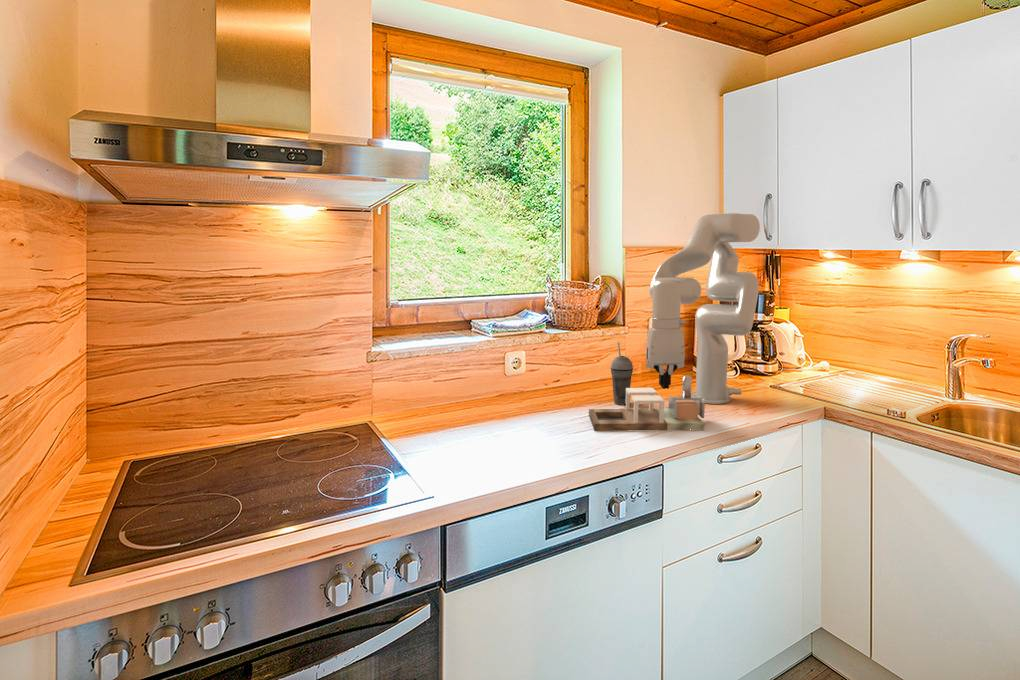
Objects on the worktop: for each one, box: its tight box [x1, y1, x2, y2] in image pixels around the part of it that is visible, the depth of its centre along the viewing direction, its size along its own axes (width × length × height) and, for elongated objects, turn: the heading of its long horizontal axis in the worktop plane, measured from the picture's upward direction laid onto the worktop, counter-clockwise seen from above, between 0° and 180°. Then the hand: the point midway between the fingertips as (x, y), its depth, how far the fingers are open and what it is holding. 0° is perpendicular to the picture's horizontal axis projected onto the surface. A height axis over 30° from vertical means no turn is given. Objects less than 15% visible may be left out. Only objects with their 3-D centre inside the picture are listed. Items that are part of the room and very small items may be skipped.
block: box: [675, 400, 699, 419], centre depth 160 cm, size 6×6×4 cm
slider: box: [668, 375, 706, 419], centre depth 159 cm, size 8×7×11 cm
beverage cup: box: [610, 341, 634, 406], centre depth 180 cm, size 7×7×20 cm
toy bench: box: [625, 387, 665, 423], centre depth 160 cm, size 8×14×6 cm, turn 178°
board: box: [588, 408, 705, 432], centre depth 160 cm, size 30×14×2 cm, turn 88°
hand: (664, 387), depth 159 cm, fingers closed
